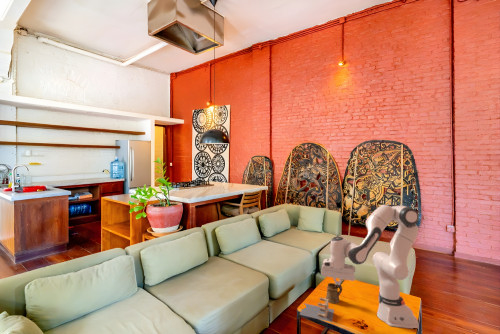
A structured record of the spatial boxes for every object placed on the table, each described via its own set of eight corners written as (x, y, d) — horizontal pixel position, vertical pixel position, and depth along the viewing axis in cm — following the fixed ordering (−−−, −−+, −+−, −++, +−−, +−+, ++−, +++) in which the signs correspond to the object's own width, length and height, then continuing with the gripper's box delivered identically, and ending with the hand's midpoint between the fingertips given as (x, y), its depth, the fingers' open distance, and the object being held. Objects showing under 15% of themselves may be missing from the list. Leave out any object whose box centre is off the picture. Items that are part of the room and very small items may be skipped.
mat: (334, 310, 169) (334, 309, 169) (331, 322, 157) (331, 322, 157) (304, 303, 177) (304, 303, 177) (299, 315, 165) (299, 314, 165)
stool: (328, 311, 168) (328, 299, 168) (327, 318, 161) (326, 305, 160) (319, 309, 170) (319, 297, 170) (318, 316, 163) (318, 303, 163)
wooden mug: (346, 306, 174) (346, 280, 174) (325, 302, 178) (325, 277, 178) (345, 299, 183) (345, 274, 182) (325, 296, 187) (325, 272, 186)
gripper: (355, 263, 160) (355, 285, 160) (321, 258, 168) (322, 279, 168) (355, 267, 154) (355, 290, 154) (320, 262, 162) (320, 283, 162)
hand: (337, 284), depth 161 cm, fingers closed
